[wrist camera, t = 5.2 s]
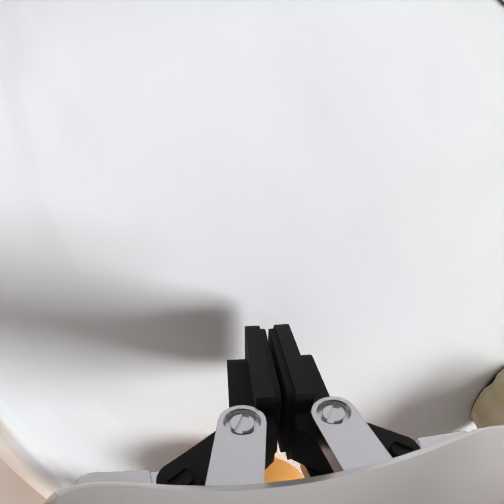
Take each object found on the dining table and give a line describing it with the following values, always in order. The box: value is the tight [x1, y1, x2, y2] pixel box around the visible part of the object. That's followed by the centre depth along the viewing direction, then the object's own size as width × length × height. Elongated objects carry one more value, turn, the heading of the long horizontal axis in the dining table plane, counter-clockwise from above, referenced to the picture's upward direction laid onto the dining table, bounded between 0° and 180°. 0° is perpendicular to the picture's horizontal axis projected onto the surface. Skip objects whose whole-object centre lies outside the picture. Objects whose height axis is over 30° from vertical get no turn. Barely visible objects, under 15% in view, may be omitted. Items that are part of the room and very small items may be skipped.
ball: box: [264, 457, 304, 483], centre depth 13 cm, size 6×6×6 cm
